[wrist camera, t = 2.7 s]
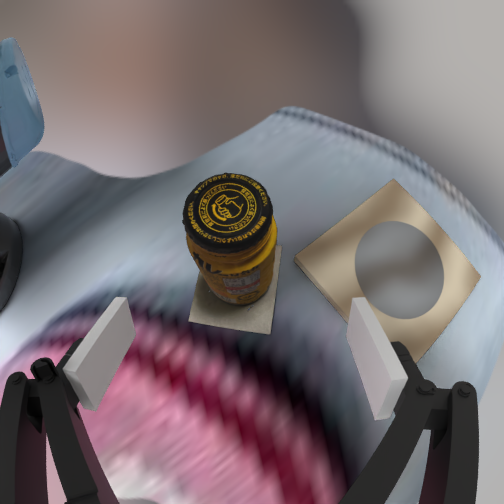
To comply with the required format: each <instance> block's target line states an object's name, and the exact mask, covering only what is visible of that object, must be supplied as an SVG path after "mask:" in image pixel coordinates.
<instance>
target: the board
mask: <svg viewBox="0 0 504 504" xmlns="http://www.w3.org/2000/svg"><path fill="white" fill-rule="evenodd" d="M294 261H295V263H296V264H297V265H298V266H299V267H300V268H301V269H302V271H303V272H304V273H305V274H306V275H307V276H308V278H309V279H310V280H311V281H312V282H313V283H314V284H315V286H316V287H317V288H318V289H319V290H320V291H321V293H322V294H323V295H324V296H325V297H326V298H327V300H328V301H329V302H330V303H331V304H332V306H333V307H334V308H335V309H336V310H337V311H338V313H339V314H340V315H341V316H342V317H343V318H344V320H345V321H346V322H347V323H348V322H349V316H350V310H351V304H352V298H358V297H365V298H366V300H367V302H368V303H369V305H370V307H371V309H372V311H373V312H374V314H375V316H376V318H377V319H378V321H379V323H380V325H381V327H382V329H383V330H384V332H385V334H386V336H387V338H388V340H389V342H395V341H400V342H401V343H402V344H403V345H404V346H406V348H407V349H408V351H409V353H410V355H411V356H412V358H413V361H414V362H415V363H417V362H418V360H419V359H420V358H421V357H422V356H423V355H424V354H425V352H426V351H427V350H428V349H429V348H430V346H431V345H432V344H433V343H434V342H435V340H436V339H437V338H438V337H439V335H440V334H441V333H442V332H443V330H444V329H445V328H446V326H447V325H448V324H449V323H450V321H451V320H452V319H453V317H454V316H455V314H456V313H457V312H458V310H459V309H460V308H461V306H462V305H463V303H464V302H465V300H466V299H467V297H468V296H469V295H470V293H471V292H472V290H473V289H474V287H475V285H476V284H477V282H478V281H479V279H480V278H481V276H480V275H479V273H478V272H477V271H476V269H475V268H474V267H473V265H472V264H471V263H470V262H469V260H468V259H467V258H466V257H465V255H464V254H463V253H462V252H461V250H460V249H459V248H458V247H457V246H456V244H455V243H454V242H453V241H452V240H451V239H450V237H449V236H448V235H447V234H446V233H445V232H444V230H443V229H442V228H441V227H440V226H439V225H438V224H437V223H436V222H435V220H434V219H433V218H432V217H431V216H430V215H429V214H428V213H427V212H426V211H425V210H424V209H423V208H422V206H421V205H420V204H419V203H418V202H417V201H416V200H415V199H414V198H413V197H412V196H411V195H410V194H409V193H408V192H407V191H406V190H405V189H404V188H403V187H402V186H401V185H400V184H399V183H398V182H397V181H396V180H395V179H392V180H391V181H390V182H389V183H387V184H386V185H385V186H384V187H382V188H381V189H380V190H379V191H377V192H376V193H375V194H374V195H372V196H371V197H370V198H369V199H367V200H366V201H365V202H364V203H362V204H361V205H360V206H358V207H357V208H356V209H355V210H353V211H352V212H351V213H350V214H348V215H347V216H346V217H345V218H343V219H342V220H341V221H339V222H338V223H337V224H336V225H334V226H333V227H332V228H330V229H329V230H328V231H327V232H325V233H324V234H323V235H321V236H320V237H319V238H317V239H316V240H315V241H314V242H312V243H311V244H310V245H308V246H307V247H306V248H304V249H303V250H302V251H300V252H299V253H298V254H296V255H295V257H294Z"/></svg>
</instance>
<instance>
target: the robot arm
mask: <svg viewBox="0 0 504 504" xmlns="http://www.w3.org/2000/svg"><path fill="white" fill-rule="evenodd" d="M43 133H44V118H43V114H42V109H41V106H40V103H39V99H38V96H37V92H36V89H35V86H34V83H33V80H32V77H31V74H30V72H29V68H28V66H27V63H26V60H25V58H24V55H23V53H22V50H21V48H20V47H19V45H18V43H17V41H16V39H14V38H8V39H4V40H2V41H1V42H0V177H2V176H3V175H4V174H5V173H6V172H7V171H8V170H9V169H11V168H12V167H16V166H17V165H18V162H19V161H20V160H21V159H22V158H23V157H24V156H25V155H27V154H28V153H29V152H30V151H31V150H32V149H33V148H34V147H36V146H37V145H38V144H39V142H40V141H41V139H42V137H43ZM21 259H22V238H21V233H20V230H19V228H18V226H17V225H16V223H15V222H13V221H12V220H11V219H10V218H9V217H7V216H6V215H5V214H3V213H0V311H1V309H2V308H3V307H4V305H5V304H6V302H7V301H8V299H9V297H10V295H11V293H12V291H13V288H14V286H15V283H16V280H17V277H18V274H19V270H20V265H21ZM135 336H136V332H135V328H134V325H133V321H132V317H131V313H130V309H129V305H128V301H127V298H124V297H115V299H114V300H113V301H112V303H111V304H110V305H109V306H108V308H107V309H106V310H105V312H104V313H103V314H102V315H101V317H100V318H99V319H98V321H97V322H96V323H95V325H94V326H93V327H92V329H91V330H90V331H89V333H88V334H87V335H86V337H85V338H80V339H78V340H77V341H75V342H74V343H73V344H72V346H71V347H70V348H69V350H68V351H67V352H66V354H65V355H64V356H63V358H62V359H61V360H60V362H59V363H58V365H57V366H56V367H55V365H54V363H53V361H52V360H51V359H50V358H40V359H38V360H36V361H35V362H34V363H33V364H32V365H31V368H30V370H31V372H32V374H33V376H34V377H35V379H28V378H27V377H26V375H25V373H23V372H15V373H13V374H11V375H10V376H9V377H8V379H7V381H6V385H5V389H4V394H3V398H2V402H1V407H0V504H48V492H47V476H46V432H47V437H48V441H49V445H50V448H51V452H52V456H53V459H54V462H55V466H56V469H57V472H58V475H59V479H60V481H61V484H62V487H63V490H64V493H65V495H66V498H67V502H65V503H64V504H119V502H118V500H117V498H116V496H115V494H114V492H113V490H112V488H111V486H110V484H109V482H108V480H107V478H106V476H105V474H104V472H103V470H102V468H101V465H100V463H99V461H98V459H97V456H96V454H95V452H94V449H93V447H92V444H91V442H90V439H89V437H88V434H87V431H86V429H85V426H84V423H83V420H82V418H81V415H80V412H79V409H78V408H77V404H78V402H79V401H80V403H81V404H82V406H83V408H85V409H89V410H93V411H96V410H97V408H98V406H99V404H100V402H101V400H102V398H103V396H104V394H105V392H106V390H107V389H108V387H109V385H110V383H111V381H112V379H113V377H114V375H115V373H116V371H117V369H118V367H119V365H120V364H121V362H122V360H123V358H124V356H125V354H126V352H127V350H128V349H129V347H130V345H131V343H132V341H133V340H134V338H135ZM346 338H347V341H348V343H349V346H350V349H351V352H352V354H353V357H354V360H355V363H356V365H357V368H358V371H359V374H360V377H361V380H362V383H363V386H364V389H365V392H366V395H367V397H368V401H369V404H370V407H371V410H372V413H373V416H374V419H375V421H376V420H382V419H388V418H390V417H391V415H392V413H393V411H394V412H395V415H396V416H395V418H394V420H393V422H392V424H391V426H390V427H389V429H388V431H387V433H386V434H385V436H384V438H383V439H382V441H381V443H380V444H379V446H378V448H377V449H376V451H375V452H374V454H373V456H372V457H371V459H370V460H369V462H368V463H367V465H366V466H365V468H364V469H363V471H362V472H361V474H360V475H359V477H358V478H357V479H356V481H355V482H354V484H353V485H352V486H351V488H350V489H349V490H348V492H347V493H346V494H345V496H344V497H343V498H342V500H341V501H340V502H339V504H384V503H385V501H386V500H387V498H388V497H389V495H390V493H391V492H392V490H393V488H394V486H395V485H396V483H397V481H398V479H399V478H400V476H401V474H402V472H403V470H404V468H405V466H406V464H407V463H408V461H409V459H410V457H411V455H412V453H413V450H414V448H415V446H416V444H417V442H418V440H419V438H420V435H421V433H422V431H423V429H428V430H431V436H430V444H429V452H428V458H427V465H426V471H425V476H424V481H423V486H422V491H421V496H420V500H419V504H475V501H476V491H477V480H478V462H479V426H478V406H477V393H476V390H475V388H474V387H473V385H471V384H470V383H468V382H464V381H461V382H457V383H455V385H454V386H453V387H452V389H440V388H437V387H436V385H435V384H434V383H433V382H431V381H429V380H425V379H424V378H423V376H422V374H421V373H420V371H419V369H418V367H417V365H416V363H415V362H414V361H413V358H412V356H411V355H410V353H409V351H408V349H407V348H406V346H404V345H403V344H402V343H401V342H400V341H395V342H389V340H388V338H387V336H386V334H385V332H384V330H383V329H382V327H381V325H380V323H379V321H378V319H377V318H376V316H375V314H374V312H373V311H372V309H371V307H370V305H369V303H368V302H367V300H366V298H365V297H358V298H352V304H351V310H350V316H349V322H348V328H347V333H346Z"/></svg>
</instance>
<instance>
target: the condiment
mask: <svg viewBox="0 0 504 504" xmlns="http://www.w3.org/2000/svg"><path fill="white" fill-rule="evenodd" d="M182 222H183V224H184V225H185V231H186V232H187V233H186V240H187V245H188V248H189V251H190V253H191V256H192V257H193V259H194V261H195V262H196V264H197V266H198V268H199V270H200V272H199V275H198V280H197V283H196V289H195V293H194V298H193V303H192V307H191V311H190V316H189V321H191V322H196V323H201V324H206V325H212V326H217V327H223V328H230V329H236V330H243V331H249V332H256V333H263V334H270V332H271V325H272V318H273V311H274V304H275V296H276V289H277V281H278V274H279V266H280V258H281V250H282V246H281V245H276V243H277V227H276V223H275V220H274V217H273V206H272V203H271V201H270V197H269V196H268V194H267V191H266V189H265V188H264V187H263V186H262V185H261V184H260V183H259V182H257V181H255V180H254V179H252V178H250V177H248V176H245V175H241V174H232V173H224V174H220V175H215V176H212V177H210V178H208V179H206V180H204V181H203V182H200V183H199V184H198V185H197V186H196V187H195V188H194V189H193V191H192V192H191V193H190V194H189V195H188V197H187V199H186V201H185V206H184V210H183V220H182ZM209 291H210V292H209ZM251 305H254V306H253V307H251ZM248 308H250V310H249V311H248V310H247V309H248Z"/></svg>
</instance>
